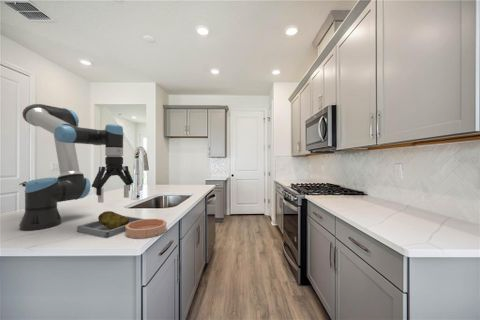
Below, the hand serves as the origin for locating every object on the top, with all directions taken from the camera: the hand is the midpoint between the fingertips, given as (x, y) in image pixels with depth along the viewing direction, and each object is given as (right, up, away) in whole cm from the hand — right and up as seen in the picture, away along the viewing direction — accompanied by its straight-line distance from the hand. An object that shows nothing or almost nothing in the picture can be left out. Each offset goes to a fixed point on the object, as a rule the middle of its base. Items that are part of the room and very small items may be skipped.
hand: (114, 199), depth 103 cm
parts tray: (0, -14, 0) cm, 14 cm away
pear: (0, -14, 0) cm, 14 cm away
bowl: (+18, -14, -5) cm, 23 cm away
